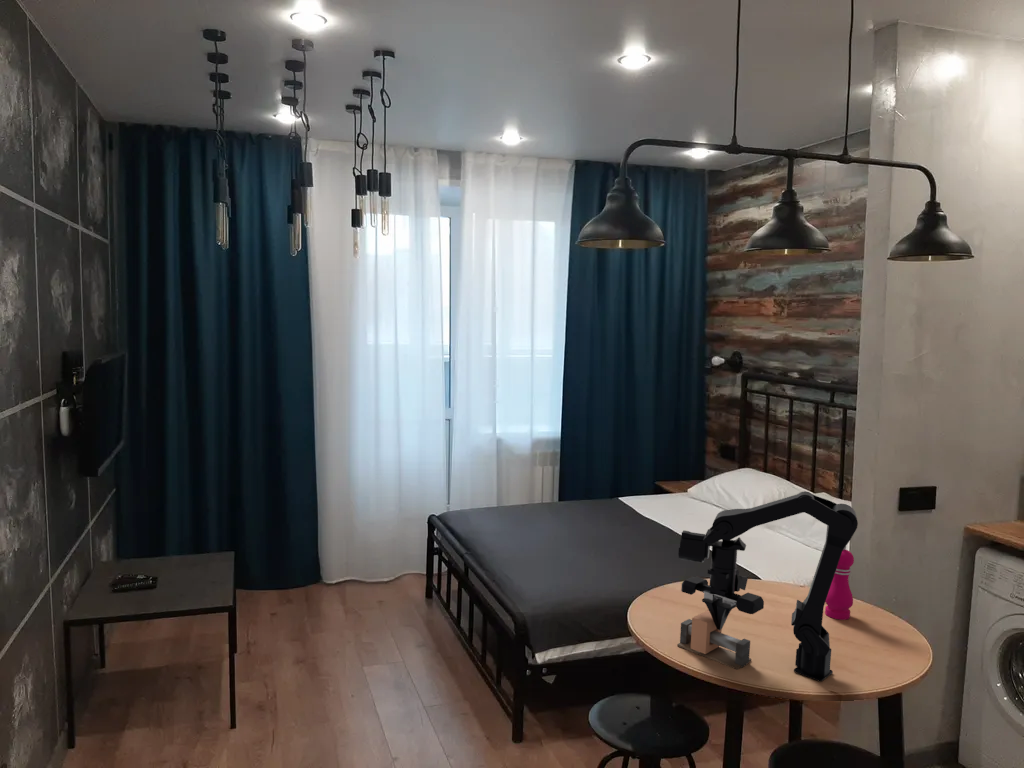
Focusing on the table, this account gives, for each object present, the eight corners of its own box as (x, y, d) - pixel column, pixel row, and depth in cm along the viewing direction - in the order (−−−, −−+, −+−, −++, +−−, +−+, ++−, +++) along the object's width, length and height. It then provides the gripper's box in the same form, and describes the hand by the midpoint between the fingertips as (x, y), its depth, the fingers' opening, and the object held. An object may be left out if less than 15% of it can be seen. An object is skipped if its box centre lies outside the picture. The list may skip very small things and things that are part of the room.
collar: (720, 645, 187) (722, 614, 186) (705, 654, 182) (707, 622, 181) (706, 640, 189) (707, 609, 189) (690, 648, 184) (692, 617, 184)
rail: (751, 661, 181) (753, 639, 180) (738, 669, 176) (739, 647, 176) (690, 638, 192) (692, 617, 192) (676, 645, 188) (677, 624, 187)
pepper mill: (838, 608, 214) (843, 538, 212) (857, 618, 207) (863, 546, 205) (817, 611, 212) (822, 540, 210) (836, 622, 205) (842, 548, 203)
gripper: (777, 568, 180) (772, 632, 182) (706, 548, 193) (702, 608, 195) (754, 579, 172) (749, 646, 174) (681, 557, 185) (678, 620, 187)
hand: (719, 629), depth 183 cm, fingers closed
